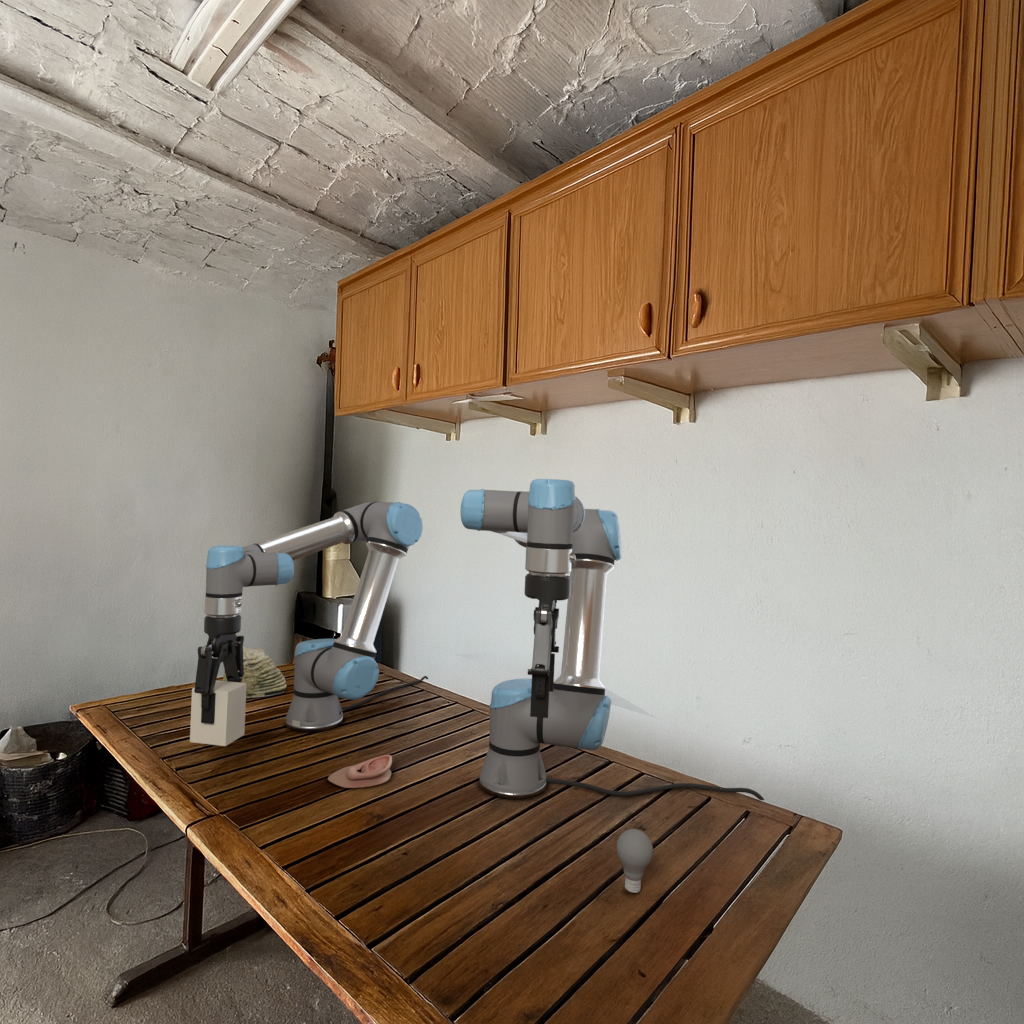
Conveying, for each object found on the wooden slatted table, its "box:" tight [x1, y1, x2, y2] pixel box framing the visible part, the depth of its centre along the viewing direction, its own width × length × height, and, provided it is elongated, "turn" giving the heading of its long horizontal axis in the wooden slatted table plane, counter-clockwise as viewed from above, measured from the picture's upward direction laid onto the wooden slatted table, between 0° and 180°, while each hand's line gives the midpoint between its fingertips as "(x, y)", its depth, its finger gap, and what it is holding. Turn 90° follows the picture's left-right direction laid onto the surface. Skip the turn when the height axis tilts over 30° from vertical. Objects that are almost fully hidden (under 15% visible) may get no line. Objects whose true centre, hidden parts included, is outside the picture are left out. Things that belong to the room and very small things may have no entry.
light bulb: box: [615, 828, 654, 894], centre depth 106 cm, size 6×6×10 cm
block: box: [189, 679, 247, 747], centre depth 142 cm, size 9×7×12 cm
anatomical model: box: [327, 754, 393, 789], centre depth 143 cm, size 13×4×12 cm
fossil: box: [222, 646, 288, 699], centre depth 198 cm, size 9×18×15 cm, turn 132°
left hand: (218, 716), depth 142 cm, fingers closed on block, 7 cm apart
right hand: (542, 703), depth 104 cm, fingers open, 13 cm apart
